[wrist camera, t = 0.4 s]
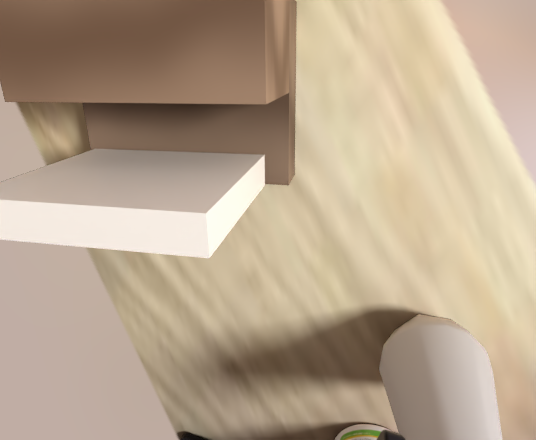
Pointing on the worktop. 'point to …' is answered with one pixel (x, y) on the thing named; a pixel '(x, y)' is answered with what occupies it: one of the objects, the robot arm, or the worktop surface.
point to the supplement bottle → (360, 432)
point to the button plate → (133, 200)
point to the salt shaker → (439, 382)
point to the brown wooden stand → (162, 72)
